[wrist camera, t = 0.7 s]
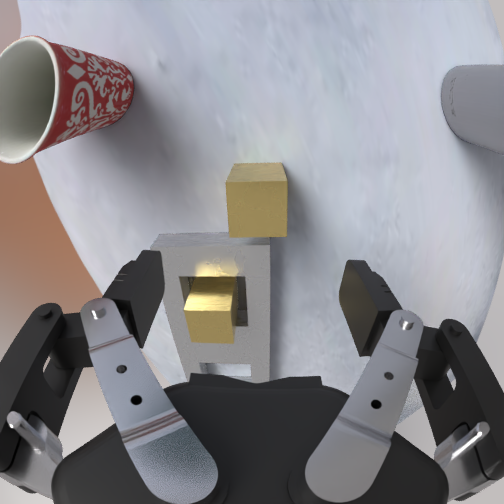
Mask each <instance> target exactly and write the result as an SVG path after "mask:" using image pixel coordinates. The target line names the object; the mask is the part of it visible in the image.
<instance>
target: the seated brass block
mask: <svg viewBox="0 0 504 504" xmlns="http://www.w3.org/2000/svg"><path fill="white" fill-rule="evenodd" d="M238 303H239V300H238V287H237V276H195V279H194V282H193V284H192V287H191V290H190V293H189V296H188V299H187V302H186V305H185V308H184V314H185V318H186V322H187V327H188V331H189V335H190V339H191V342H194V343H221V344H234V339H235V330H236V321H237V312H238Z"/></svg>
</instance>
